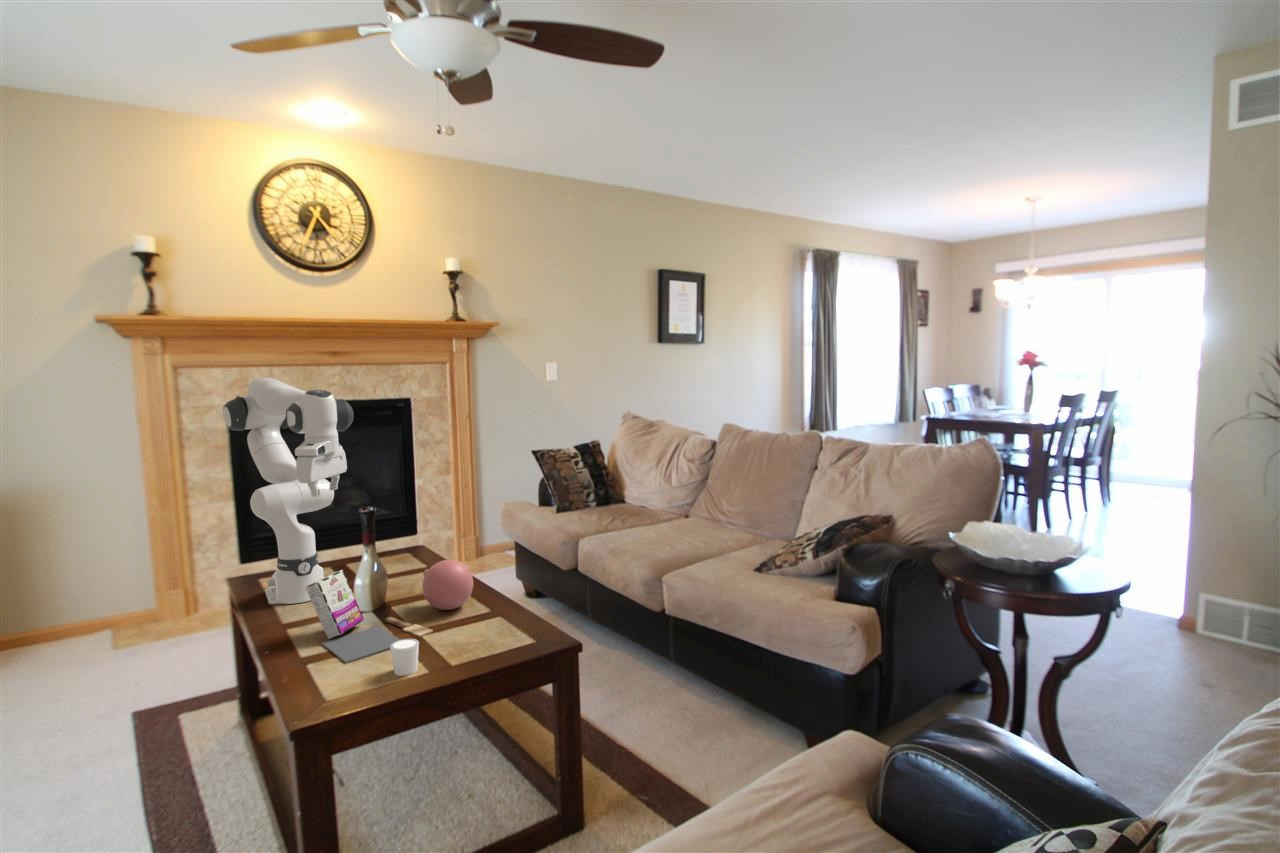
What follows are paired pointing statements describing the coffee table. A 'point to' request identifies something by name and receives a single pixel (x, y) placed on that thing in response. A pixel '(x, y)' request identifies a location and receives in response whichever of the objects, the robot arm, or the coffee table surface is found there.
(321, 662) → the coffee table surface
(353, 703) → the coffee table surface
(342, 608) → the candy bar box
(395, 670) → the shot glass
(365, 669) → the coffee table surface
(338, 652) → the mat
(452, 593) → the rose rubber ball
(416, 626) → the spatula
